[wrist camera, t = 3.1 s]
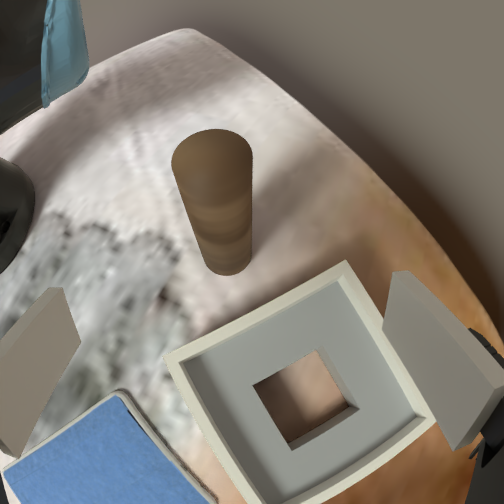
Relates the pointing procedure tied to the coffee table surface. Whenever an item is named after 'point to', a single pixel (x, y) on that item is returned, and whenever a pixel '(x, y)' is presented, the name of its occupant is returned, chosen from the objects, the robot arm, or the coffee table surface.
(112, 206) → the coffee table surface
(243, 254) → the peg
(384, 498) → the coffee table surface
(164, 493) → the blue rectangular panel
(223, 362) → the tray
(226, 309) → the coffee table surface
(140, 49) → the coffee table surface
